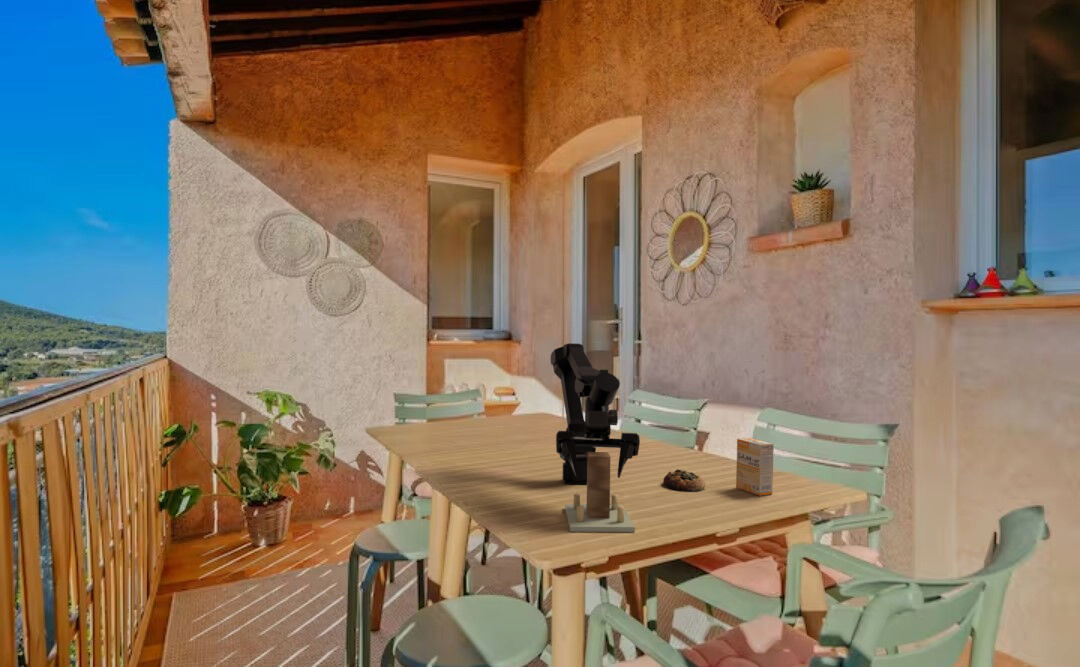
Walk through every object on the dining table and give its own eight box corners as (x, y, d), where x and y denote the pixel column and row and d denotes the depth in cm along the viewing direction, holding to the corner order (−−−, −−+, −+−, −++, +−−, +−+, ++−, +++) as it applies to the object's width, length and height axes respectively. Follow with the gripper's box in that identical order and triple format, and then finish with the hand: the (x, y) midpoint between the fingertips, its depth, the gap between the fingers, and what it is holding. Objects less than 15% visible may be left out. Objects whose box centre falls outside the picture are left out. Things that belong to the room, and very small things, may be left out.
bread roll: (655, 486, 148) (657, 467, 148) (673, 483, 156) (675, 465, 156) (695, 496, 140) (697, 476, 141) (712, 493, 149) (714, 474, 149)
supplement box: (735, 488, 147) (735, 438, 147) (748, 486, 149) (749, 437, 149) (759, 496, 139) (760, 444, 139) (773, 494, 141) (774, 442, 141)
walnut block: (607, 511, 123) (607, 452, 123) (609, 518, 118) (610, 456, 118) (586, 511, 123) (587, 451, 123) (588, 518, 118) (589, 456, 118)
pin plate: (622, 508, 128) (622, 491, 128) (634, 532, 113) (634, 512, 113) (565, 508, 128) (565, 490, 128) (570, 531, 113) (570, 511, 113)
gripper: (557, 395, 128) (554, 454, 117) (639, 397, 127) (644, 457, 116) (557, 424, 136) (555, 482, 125) (635, 426, 135) (639, 485, 124)
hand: (597, 476), depth 122 cm, fingers open, 9 cm apart
